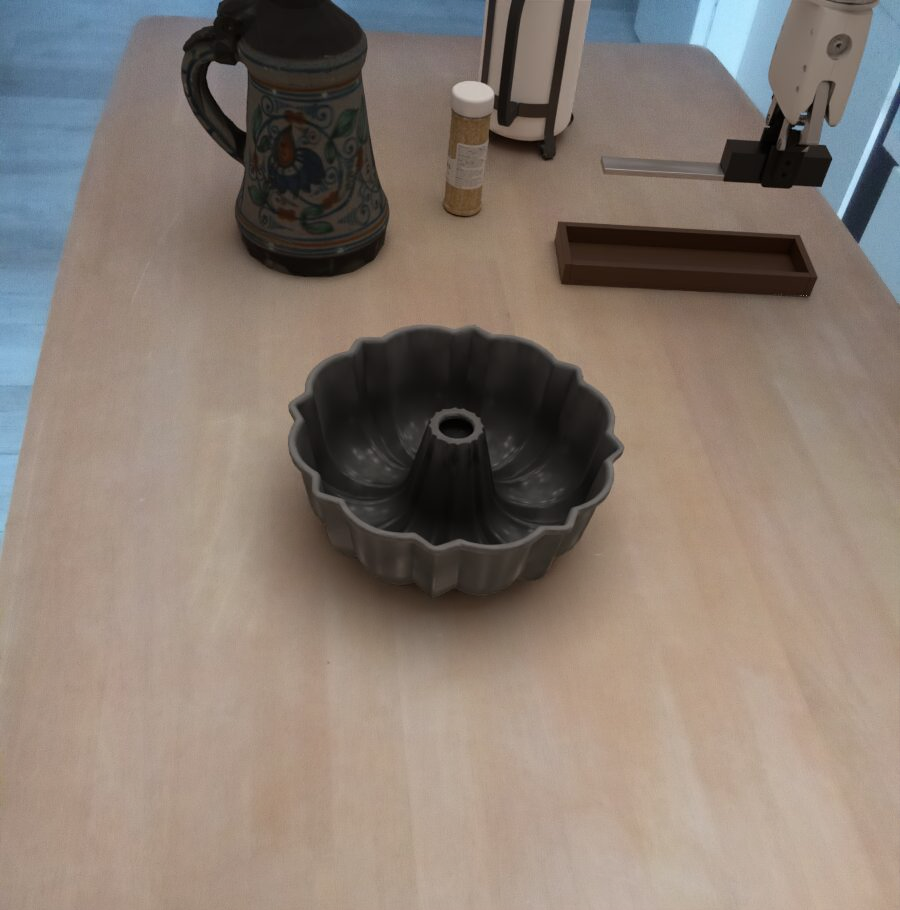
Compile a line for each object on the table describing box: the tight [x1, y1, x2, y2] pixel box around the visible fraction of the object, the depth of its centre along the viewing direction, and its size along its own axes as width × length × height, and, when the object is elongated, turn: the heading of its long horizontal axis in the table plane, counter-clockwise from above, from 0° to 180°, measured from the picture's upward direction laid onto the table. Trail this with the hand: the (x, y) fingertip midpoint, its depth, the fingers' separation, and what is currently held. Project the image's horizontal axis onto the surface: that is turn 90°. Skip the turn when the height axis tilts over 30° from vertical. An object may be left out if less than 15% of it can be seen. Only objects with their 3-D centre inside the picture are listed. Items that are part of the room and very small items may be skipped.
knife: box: [599, 138, 833, 188], centre depth 100 cm, size 22×3×3 cm, turn 92°
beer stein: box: [180, 0, 390, 278], centre depth 101 cm, size 16×19×25 cm
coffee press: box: [477, 0, 592, 160], centre depth 117 cm, size 17×16×30 cm
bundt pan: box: [287, 324, 625, 599], centre depth 84 cm, size 26×26×10 cm
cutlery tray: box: [554, 220, 819, 297], centre depth 112 cm, size 28×8×2 cm, turn 92°
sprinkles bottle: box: [442, 80, 494, 217], centre depth 112 cm, size 5×5×13 cm
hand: (772, 175), depth 101 cm, fingers closed on knife, 2 cm apart
